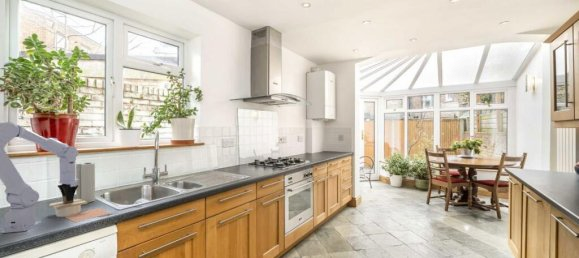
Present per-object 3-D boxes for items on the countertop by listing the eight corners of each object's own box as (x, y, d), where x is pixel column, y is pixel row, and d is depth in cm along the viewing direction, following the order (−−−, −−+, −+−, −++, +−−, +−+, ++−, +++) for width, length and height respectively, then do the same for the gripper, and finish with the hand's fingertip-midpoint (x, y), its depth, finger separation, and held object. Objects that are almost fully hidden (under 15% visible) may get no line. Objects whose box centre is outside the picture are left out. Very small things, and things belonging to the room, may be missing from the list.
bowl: (74, 216, 119) (74, 206, 119) (51, 218, 117) (50, 208, 117) (84, 210, 128) (84, 201, 128) (62, 211, 125) (62, 202, 125)
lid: (87, 203, 124) (86, 194, 124) (57, 209, 115) (57, 200, 115) (77, 199, 130) (77, 191, 130) (49, 205, 121) (49, 196, 120)
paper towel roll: (98, 200, 145) (97, 162, 145) (88, 203, 139) (88, 164, 139) (86, 199, 146) (85, 162, 145) (76, 203, 140) (75, 163, 139)
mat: (111, 213, 122) (111, 213, 122) (75, 223, 110) (75, 222, 110) (98, 208, 130) (98, 208, 130) (63, 217, 118) (63, 216, 118)
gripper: (84, 171, 121) (84, 200, 122) (72, 168, 129) (72, 195, 129) (65, 173, 116) (65, 203, 116) (53, 170, 123) (54, 199, 123)
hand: (68, 199), depth 122 cm, fingers open, 4 cm apart
